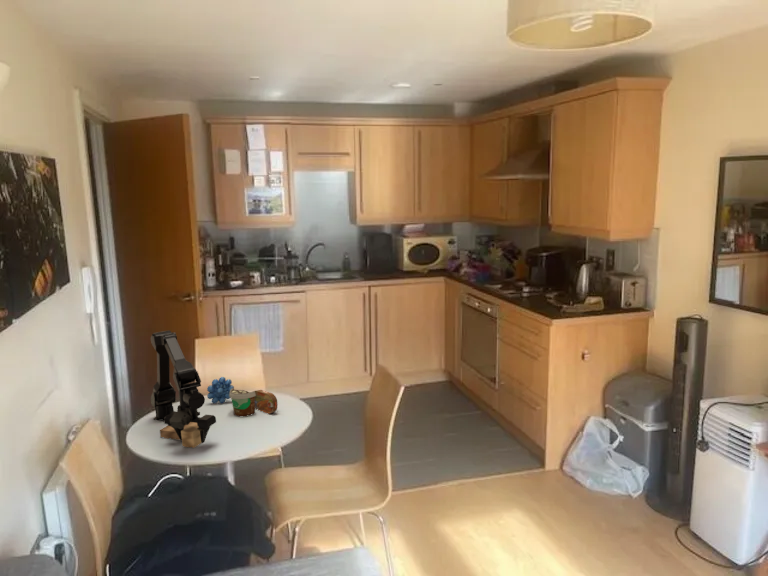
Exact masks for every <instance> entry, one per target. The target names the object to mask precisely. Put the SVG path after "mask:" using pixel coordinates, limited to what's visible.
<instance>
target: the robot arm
mask: <svg viewBox="0 0 768 576" xmlns="http://www.w3.org/2000/svg"><path fill="white" fill-rule="evenodd" d="M150 342H151V345H152V347H153V348H154V350H155V352H156V376H157V377H156V378H157V379H156V380H157V381H156V382H155V384H154V385H153V388H152V393H151V396H150V403H151V404H150V405H151V406H153V407H154V408H155V417H153V420H155V421H156V420H157V421H164V424H166V425H167V426H171V427H172V428H174V429H175V431H176V433H177V435H178V437H179V438H180V440H179V441H182V436H181V431H182V430H184V426H185V425H188V424H189V423H190V422H195V423H197V425H198V428H197V429H198V430H199V431H200V437H201V442H202V443H201V444H204V443H205V442H206V441H205V440H206V438H207V435H208V432H209V430H210V428H211V426H213V425H214V424H216V423H217V418H216V416H215V415H214V414H204V415H202V416H201V417H199V416H200V415H201V412H200V411H198V410H199V409H200V408H202V407H203V406H204V404H205V402H206V399H205V398H206V397H205V396H204V394H202V393H201V392H200V391H199V389H198V388H199V387H201V386H202V384H201V382H202V380H201V378H200V375H199V372H198V371H197V369H196V368H195V367H194V366H193V364H192V362H190V361H188V360H187V359H186V358H185V355H184V353H183V351H182V348H181V346H180V344H179V341H178V336H177V332H172V331H171V330H164V331H158V332H153V333H151V336H150ZM170 362H171V364H172V366H173V374H172V379H173V381H174V384H175V386H176V389H177V391H178V399H179V405H177V410H176V411H175V409H174V406H173V403H175V402H176V400H177V399H176V398H177V396H176V393H177V391H176V389H175V387H173V385H172V383H171V381H170V380H171V379H170V378H171V377H170V373H171V372H170V369H171V368H170Z"/></svg>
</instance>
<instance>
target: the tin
mask: <svg viewBox="0 0 768 576" xmlns="http://www.w3.org/2000/svg"><path fill="white" fill-rule="evenodd" d="M254 391H255V394H256V396H255V410H257V409H258V410H257V411H259V410H260V412H262V411H263V413H265V414H267V413H268V414H270V415H271V414H273V413H275V412H276V411H277V410H278V399H277V397H276V395H275V394H274V393H272V392H270V391H267V390H263V389H257V390H254ZM268 414H267V415H268Z"/></svg>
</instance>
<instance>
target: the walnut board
mask: <svg viewBox="0 0 768 576" xmlns="http://www.w3.org/2000/svg"><path fill="white" fill-rule="evenodd" d="M188 426H198V425H197V423H195V422H190V423H189V424H188V425H185V426H184V429H185V428H187V427H188ZM159 433H160V438H161V437H164V438H163V439H169V438H171V439H170V440H179V441H181V440H180V438H179V437H178V435H177V433H176V431H175V429H174V428H172V427H171V426H168V425H166V426H165V427H162V428H161V429H159Z"/></svg>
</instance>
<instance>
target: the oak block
mask: <svg viewBox="0 0 768 576" xmlns="http://www.w3.org/2000/svg"><path fill="white" fill-rule="evenodd" d="M197 428H198V426H188V427H187V428H185V429H184V430H182V431H181V436H182V442H181V444H182V447H183V446H184V448H191V447H192V448H193V449H195V448H196V447H198V446H199V445H200V444H203V443H202V442H201V437H200V431H199V430H198V429H197Z"/></svg>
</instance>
